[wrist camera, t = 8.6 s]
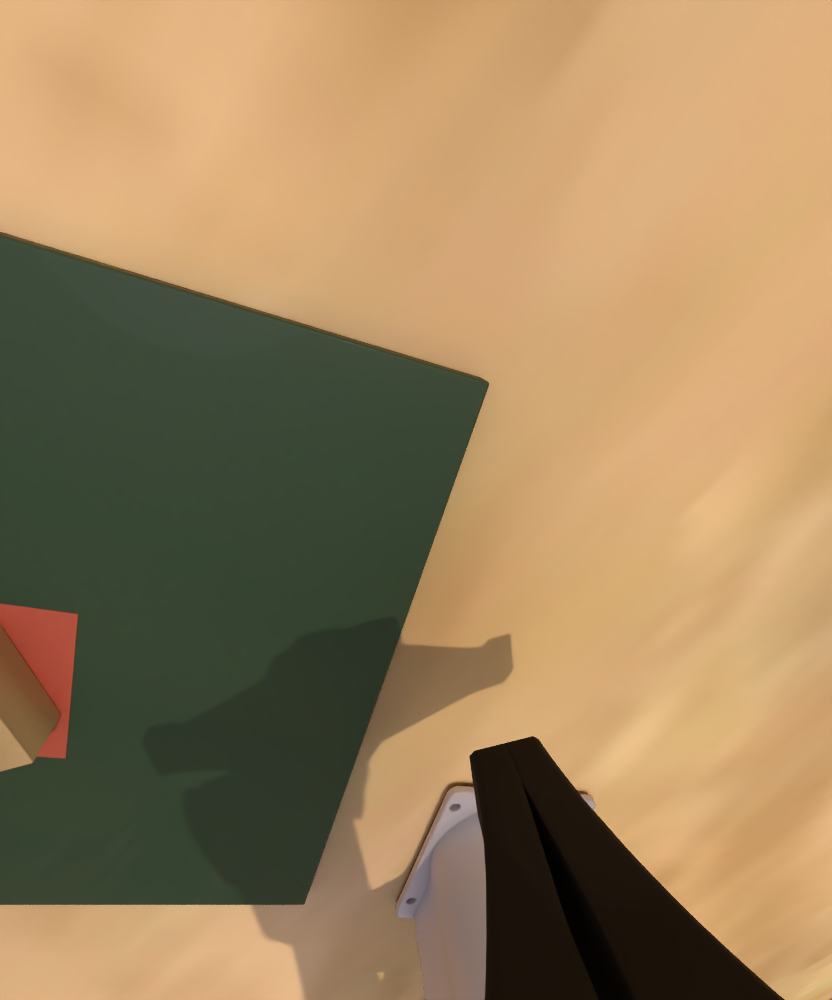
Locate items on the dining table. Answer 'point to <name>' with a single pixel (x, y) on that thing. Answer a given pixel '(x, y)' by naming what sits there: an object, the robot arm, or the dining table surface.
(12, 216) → the dining table surface
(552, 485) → the dining table surface
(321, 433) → the game board
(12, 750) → the letter tile
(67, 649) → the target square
